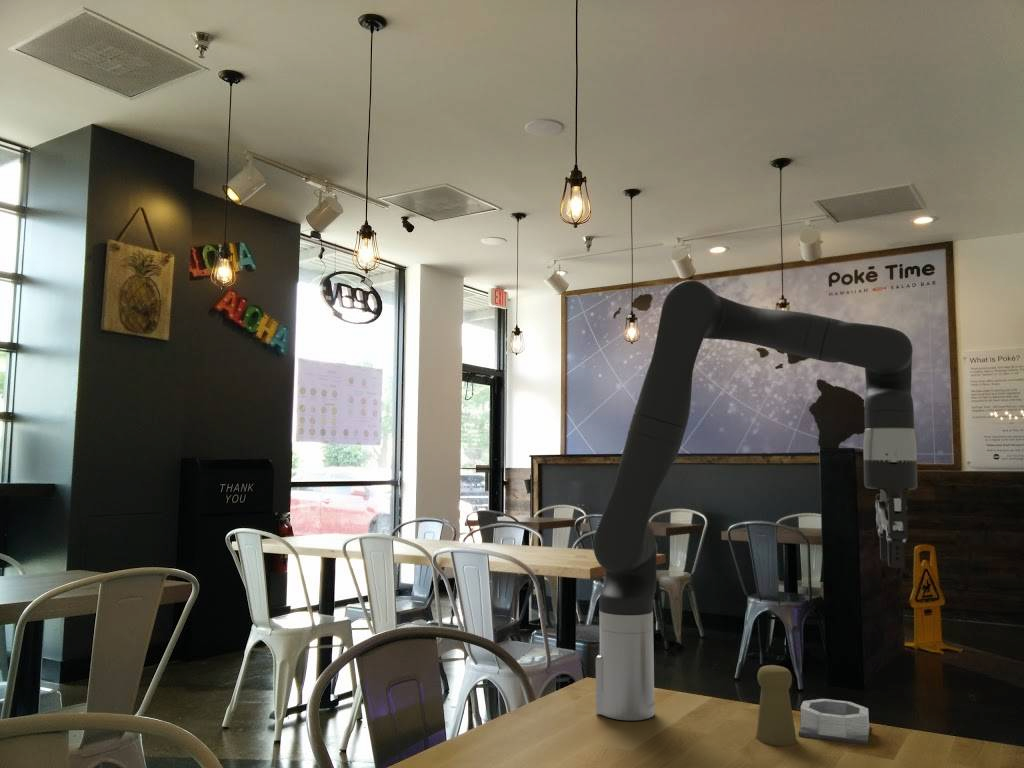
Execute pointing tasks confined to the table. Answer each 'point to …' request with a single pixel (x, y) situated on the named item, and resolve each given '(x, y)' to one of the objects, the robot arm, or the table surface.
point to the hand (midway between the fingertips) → (892, 564)
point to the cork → (775, 707)
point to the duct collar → (835, 721)
